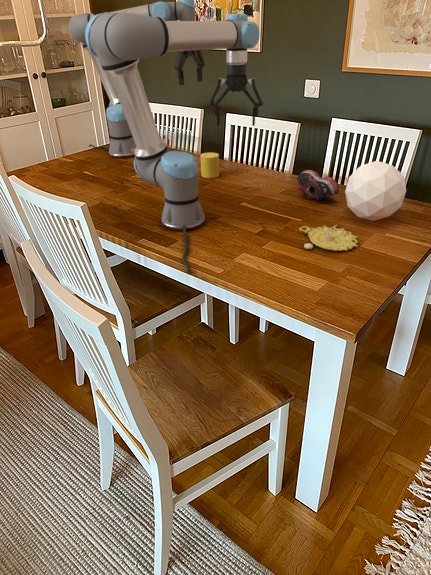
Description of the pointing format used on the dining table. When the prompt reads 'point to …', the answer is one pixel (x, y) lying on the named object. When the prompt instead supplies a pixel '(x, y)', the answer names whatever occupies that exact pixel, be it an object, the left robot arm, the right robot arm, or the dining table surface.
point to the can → (209, 165)
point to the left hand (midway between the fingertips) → (190, 83)
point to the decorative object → (330, 238)
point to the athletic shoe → (317, 185)
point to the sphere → (375, 190)
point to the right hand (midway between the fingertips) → (236, 124)
